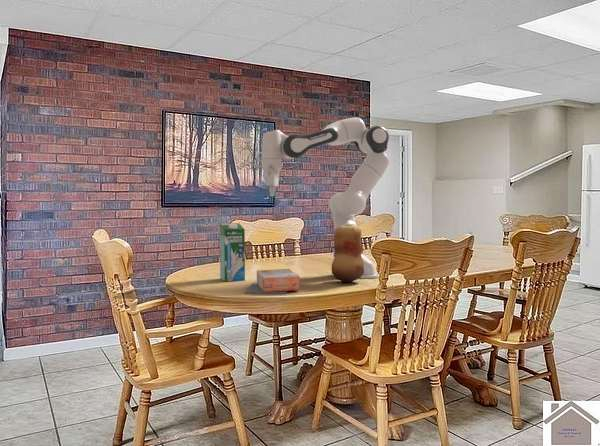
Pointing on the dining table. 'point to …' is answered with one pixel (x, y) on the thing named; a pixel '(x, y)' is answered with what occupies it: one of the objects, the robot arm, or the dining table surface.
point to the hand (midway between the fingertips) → (272, 196)
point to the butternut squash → (347, 253)
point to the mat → (257, 290)
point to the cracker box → (277, 280)
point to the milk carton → (232, 252)
